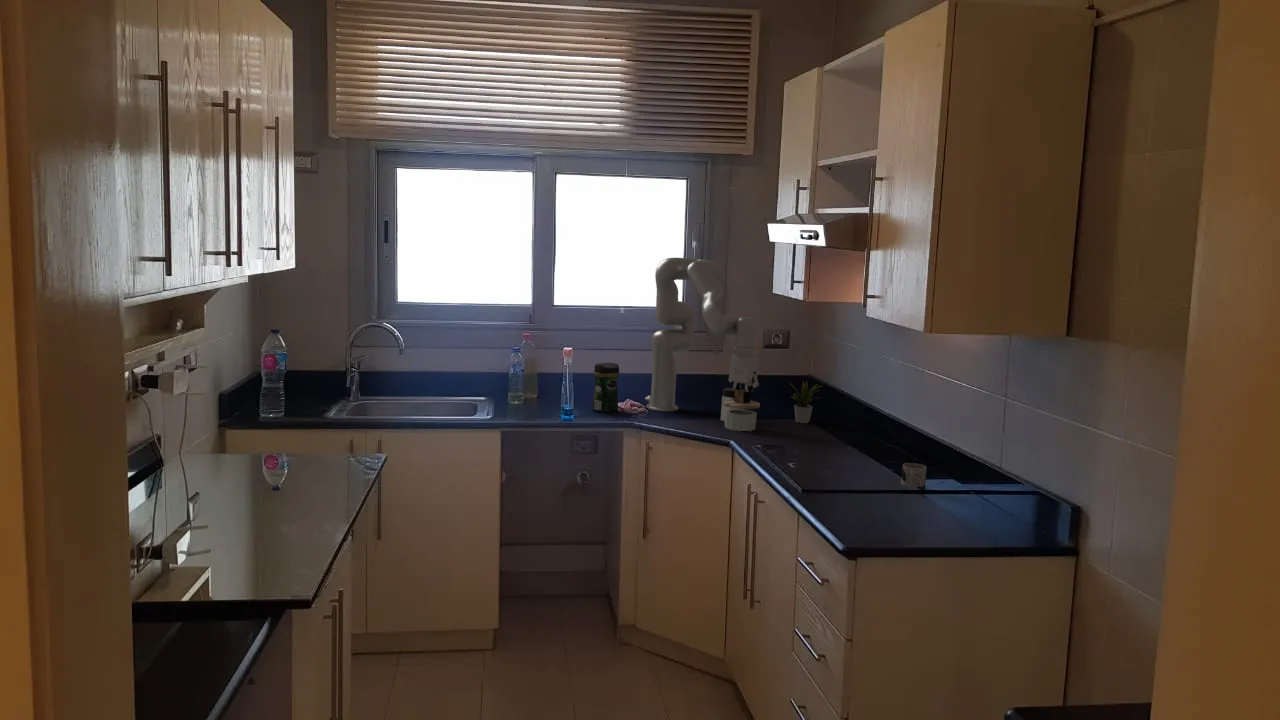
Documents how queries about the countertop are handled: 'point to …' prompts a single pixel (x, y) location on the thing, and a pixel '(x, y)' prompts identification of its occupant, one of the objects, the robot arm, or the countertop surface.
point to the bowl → (740, 420)
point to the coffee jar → (606, 387)
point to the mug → (913, 475)
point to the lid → (741, 401)
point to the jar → (727, 395)
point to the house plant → (803, 403)
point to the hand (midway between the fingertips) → (742, 400)
